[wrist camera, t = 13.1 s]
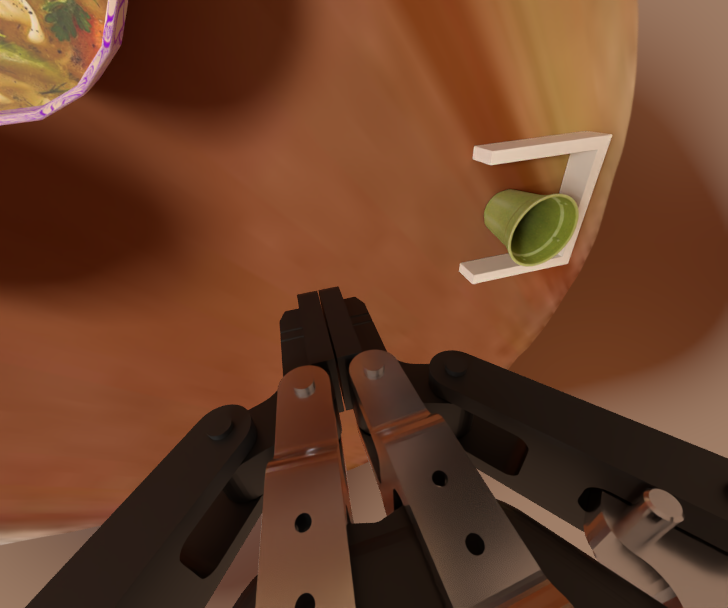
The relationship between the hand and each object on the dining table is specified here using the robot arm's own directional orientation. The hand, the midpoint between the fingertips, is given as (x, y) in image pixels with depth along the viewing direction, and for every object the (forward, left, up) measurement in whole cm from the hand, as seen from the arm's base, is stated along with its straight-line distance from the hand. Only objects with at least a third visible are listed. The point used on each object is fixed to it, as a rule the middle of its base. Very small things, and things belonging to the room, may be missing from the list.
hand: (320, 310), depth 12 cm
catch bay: (+10, +31, -29) cm, 44 cm away
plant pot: (+10, +29, -29) cm, 43 cm away
